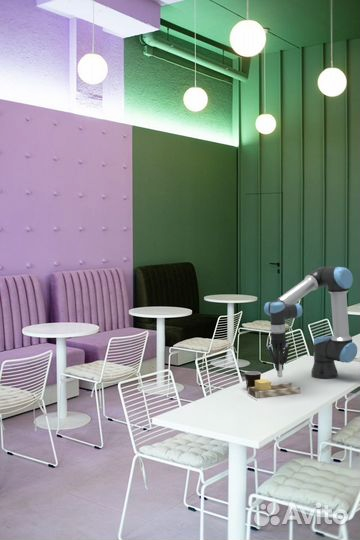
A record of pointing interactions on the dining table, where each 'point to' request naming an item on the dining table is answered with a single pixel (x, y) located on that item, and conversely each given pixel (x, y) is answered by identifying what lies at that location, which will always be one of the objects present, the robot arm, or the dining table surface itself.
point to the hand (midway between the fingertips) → (279, 376)
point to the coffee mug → (252, 378)
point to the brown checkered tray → (274, 391)
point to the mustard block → (262, 385)
